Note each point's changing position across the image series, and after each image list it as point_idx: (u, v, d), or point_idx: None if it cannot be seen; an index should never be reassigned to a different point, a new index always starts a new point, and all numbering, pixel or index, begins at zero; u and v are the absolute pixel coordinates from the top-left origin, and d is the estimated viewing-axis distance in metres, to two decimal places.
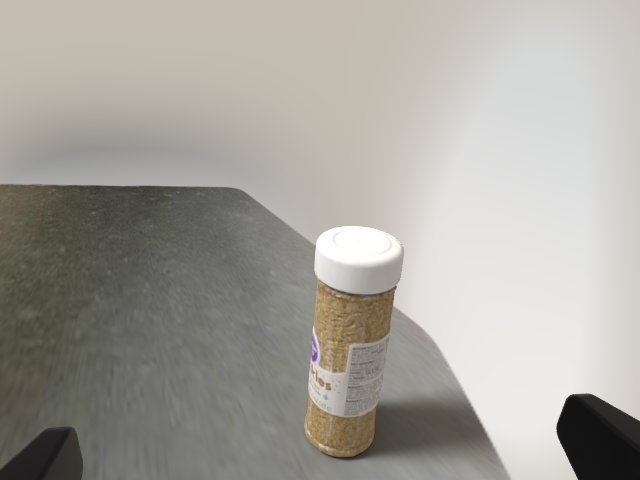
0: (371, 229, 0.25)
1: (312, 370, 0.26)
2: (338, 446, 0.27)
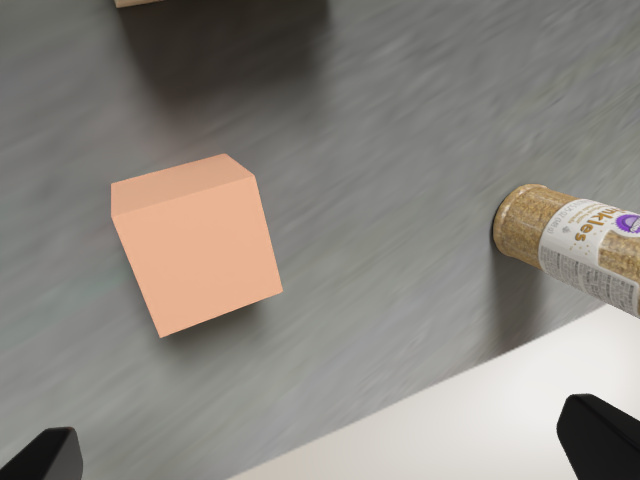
0: None
1: (602, 215, 0.21)
2: (505, 227, 0.25)
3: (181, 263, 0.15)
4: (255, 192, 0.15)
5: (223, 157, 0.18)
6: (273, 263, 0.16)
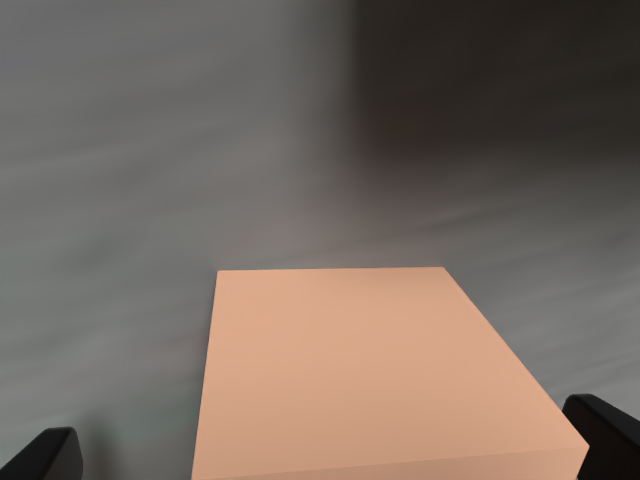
0: None
1: None
2: None
3: None
4: None
5: (445, 283, 0.09)
6: None
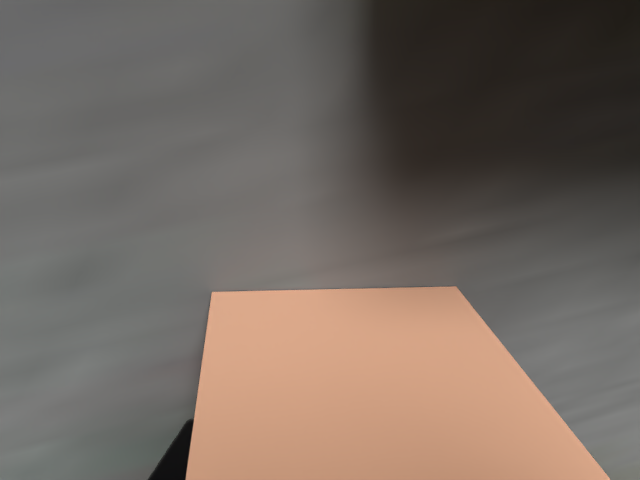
0: None
1: None
2: None
3: None
4: None
5: (461, 308, 0.08)
6: None
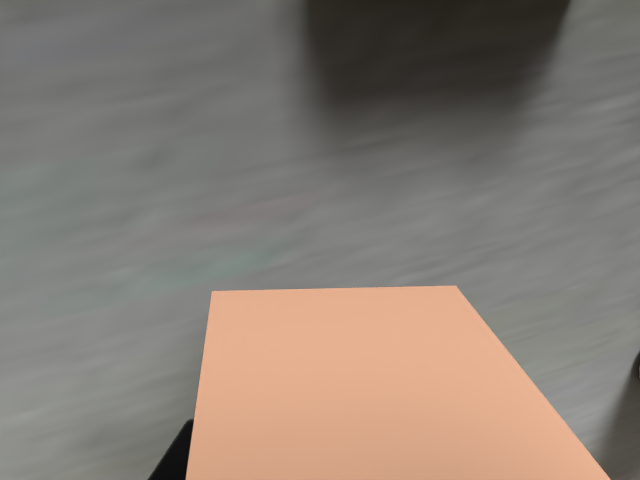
0: None
1: None
2: None
3: None
4: None
5: (461, 308, 0.08)
6: None
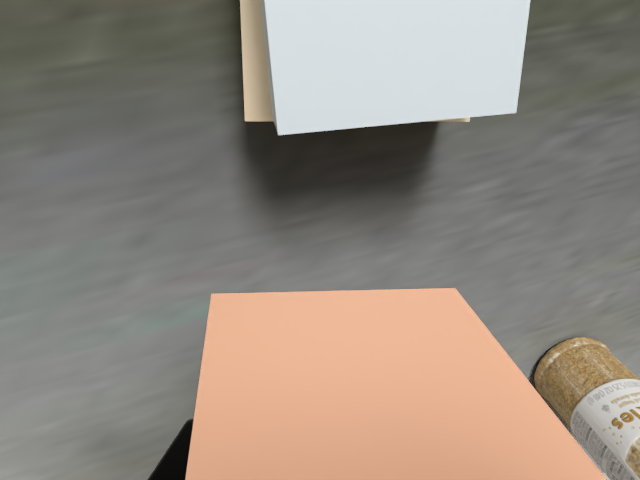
0: None
1: None
2: (548, 373, 0.25)
3: None
4: None
5: (460, 310, 0.08)
6: None
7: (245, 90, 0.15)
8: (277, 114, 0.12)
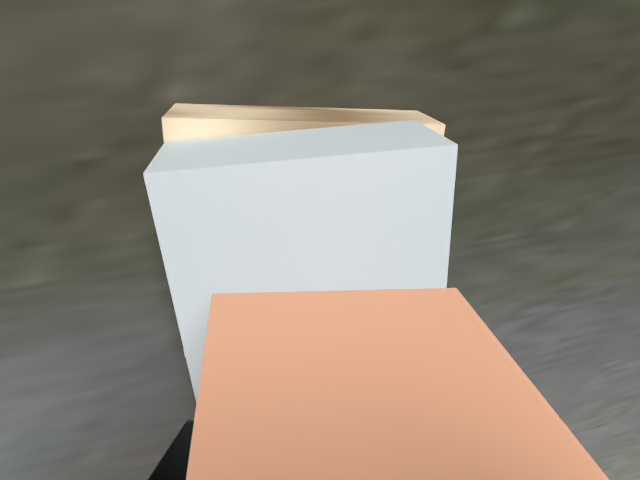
0: None
1: None
2: None
3: None
4: None
5: (461, 310, 0.08)
6: None
7: None
8: None
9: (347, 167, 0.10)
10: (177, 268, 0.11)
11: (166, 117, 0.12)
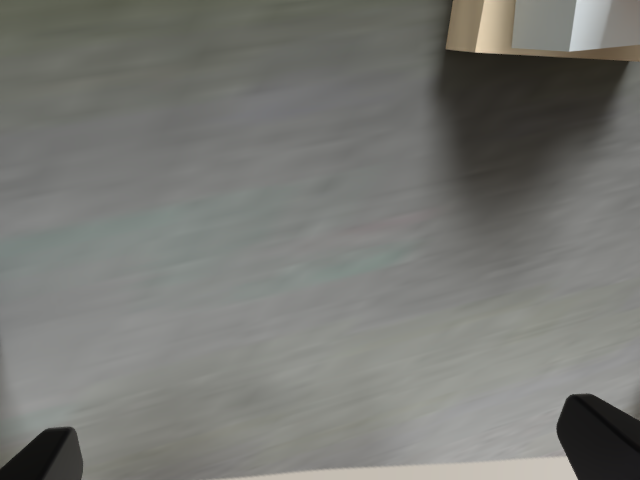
0: None
1: None
2: None
3: None
4: None
5: None
6: None
7: (482, 19, 0.15)
8: (574, 28, 0.12)
9: None
10: None
11: None
